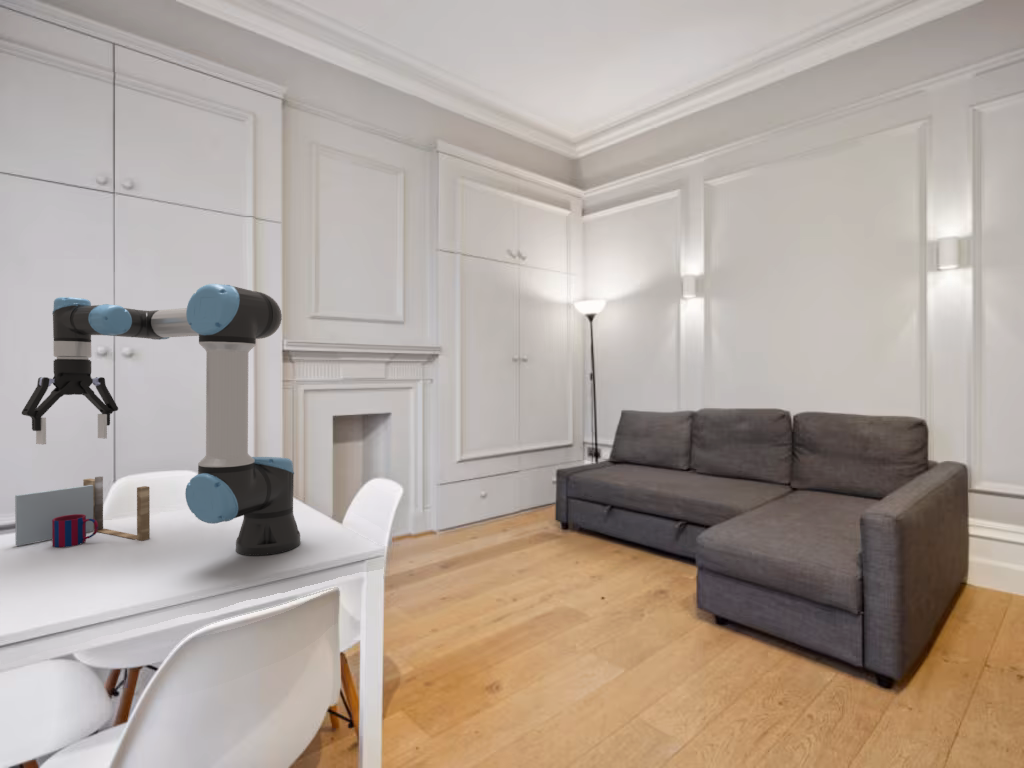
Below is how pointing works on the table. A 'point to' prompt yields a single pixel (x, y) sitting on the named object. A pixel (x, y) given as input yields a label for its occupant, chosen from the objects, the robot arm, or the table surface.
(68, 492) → the door
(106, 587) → the table surface
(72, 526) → the mug
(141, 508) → the doorframe
